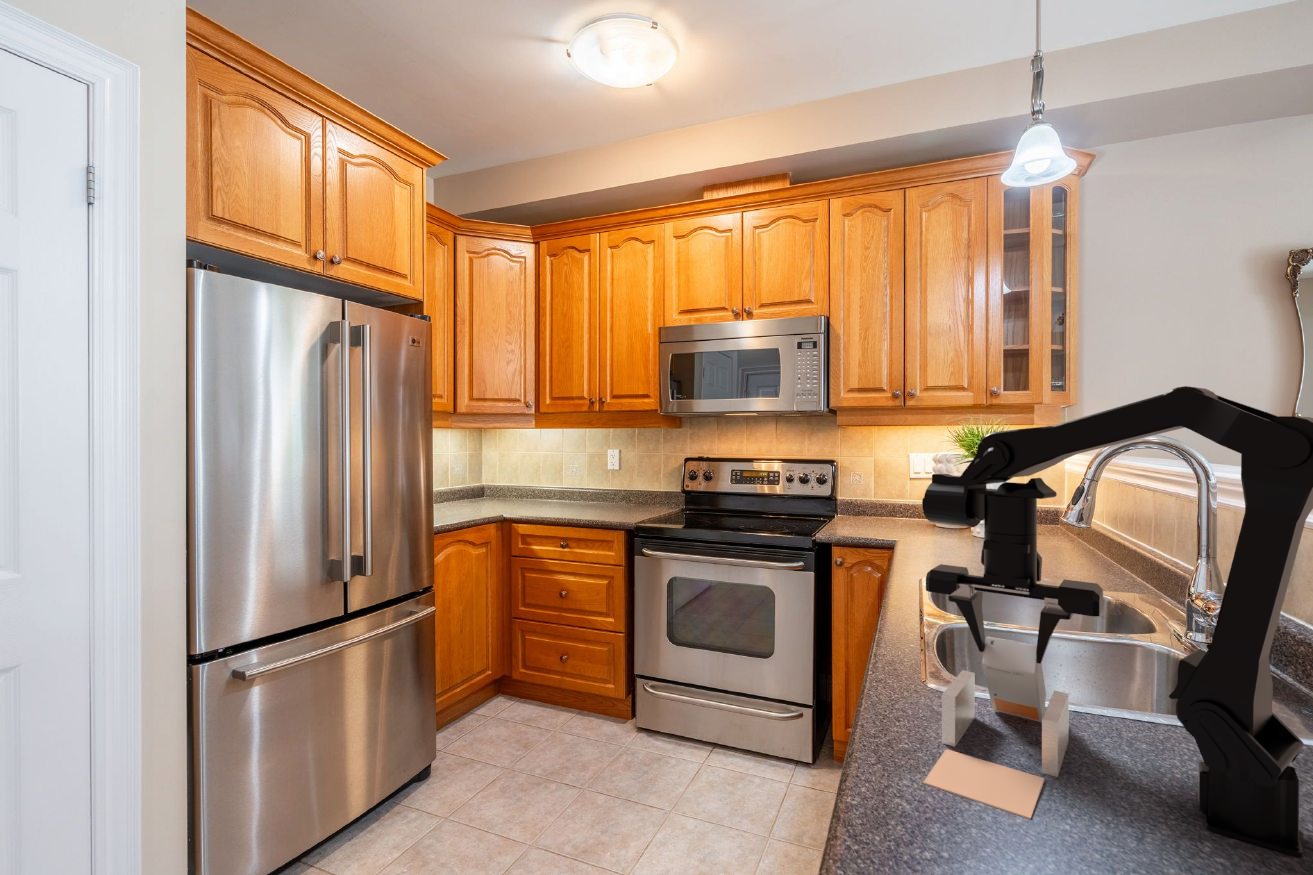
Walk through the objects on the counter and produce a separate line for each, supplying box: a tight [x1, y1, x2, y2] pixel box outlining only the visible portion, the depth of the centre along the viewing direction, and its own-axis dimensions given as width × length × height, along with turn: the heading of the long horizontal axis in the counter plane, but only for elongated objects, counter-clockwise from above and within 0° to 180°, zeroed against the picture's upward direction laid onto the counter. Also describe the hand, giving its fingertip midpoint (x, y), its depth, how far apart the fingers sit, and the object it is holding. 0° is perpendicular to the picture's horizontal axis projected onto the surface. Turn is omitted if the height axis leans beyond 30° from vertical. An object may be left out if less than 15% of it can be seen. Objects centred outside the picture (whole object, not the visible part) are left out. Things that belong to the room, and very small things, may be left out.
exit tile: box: [922, 748, 1045, 820], centre depth 68 cm, size 10×9×1 cm
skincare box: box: [981, 636, 1047, 723], centre depth 81 cm, size 6×4×12 cm
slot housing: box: [941, 669, 1070, 778], centre depth 77 cm, size 12×10×6 cm
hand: (1009, 656), depth 78 cm, fingers closed on skincare box, 6 cm apart
